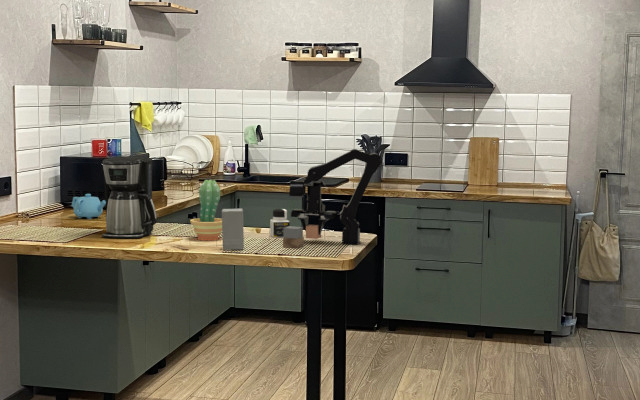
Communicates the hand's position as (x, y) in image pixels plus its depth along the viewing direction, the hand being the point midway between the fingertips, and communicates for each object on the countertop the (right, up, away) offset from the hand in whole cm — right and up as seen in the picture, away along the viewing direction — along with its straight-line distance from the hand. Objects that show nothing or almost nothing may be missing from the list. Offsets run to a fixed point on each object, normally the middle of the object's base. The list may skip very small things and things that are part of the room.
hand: (313, 234), depth 361 cm
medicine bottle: (-15, -2, +16) cm, 22 cm away
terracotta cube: (0, -1, 0) cm, 1 cm away
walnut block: (-8, -5, -11) cm, 14 cm away
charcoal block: (-8, -1, -11) cm, 14 cm away
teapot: (-111, +5, +66) cm, 129 cm away
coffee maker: (-77, -1, +16) cm, 79 cm away
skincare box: (-32, -5, -18) cm, 37 cm away
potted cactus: (-45, -2, +6) cm, 45 cm away
